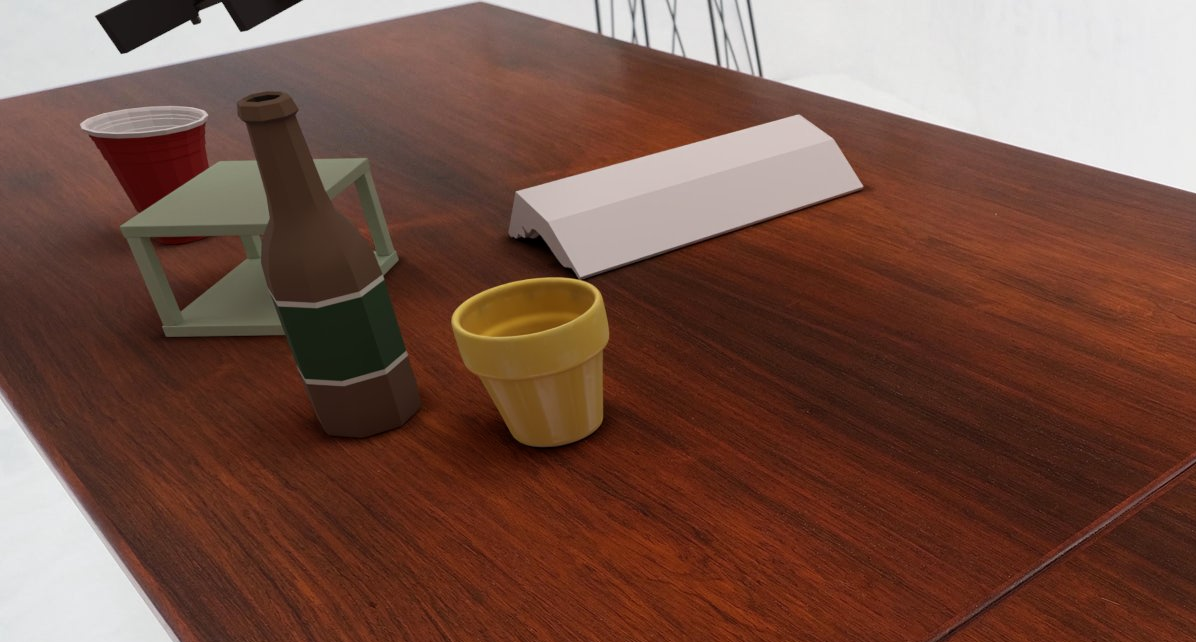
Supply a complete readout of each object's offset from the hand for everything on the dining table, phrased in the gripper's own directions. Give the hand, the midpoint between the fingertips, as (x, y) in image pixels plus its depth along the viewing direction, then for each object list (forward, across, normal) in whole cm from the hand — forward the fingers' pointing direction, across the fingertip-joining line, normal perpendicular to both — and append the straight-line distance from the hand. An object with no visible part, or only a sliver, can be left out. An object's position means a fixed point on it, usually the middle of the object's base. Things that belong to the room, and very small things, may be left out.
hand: (168, 23), depth 85 cm
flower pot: (+2, -17, -32) cm, 36 cm away
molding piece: (-38, -1, -36) cm, 52 cm away
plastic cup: (-16, +44, -24) cm, 53 cm away
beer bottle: (+6, -2, -28) cm, 29 cm away
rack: (-8, +22, -26) cm, 35 cm away
